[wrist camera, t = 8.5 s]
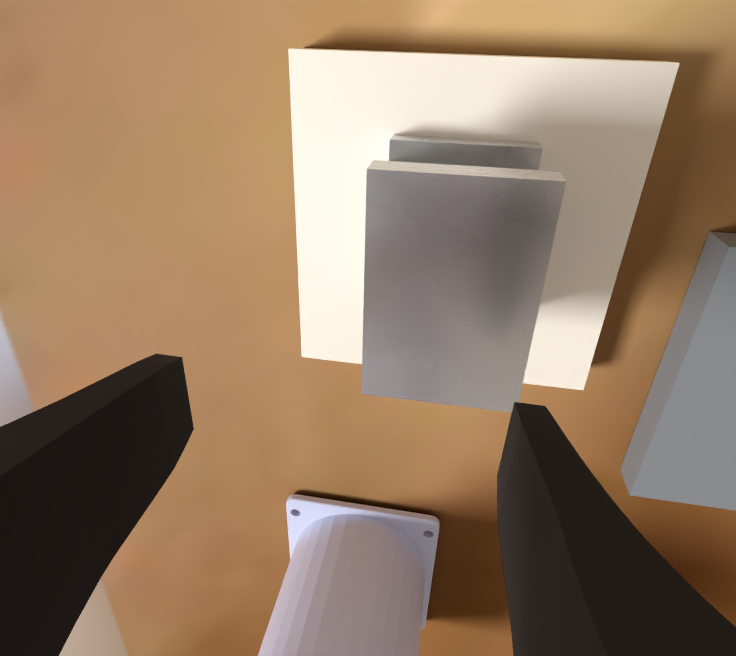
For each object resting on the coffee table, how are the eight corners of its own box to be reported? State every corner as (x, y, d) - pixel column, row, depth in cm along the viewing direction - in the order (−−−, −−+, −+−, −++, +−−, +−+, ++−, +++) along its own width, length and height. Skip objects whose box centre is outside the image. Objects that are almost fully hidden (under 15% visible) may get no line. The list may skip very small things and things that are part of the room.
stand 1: (576, 368, 21) (583, 390, 19) (311, 338, 22) (301, 356, 21) (661, 60, 15) (679, 62, 14) (302, 48, 17) (288, 48, 15)
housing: (504, 326, 19) (516, 413, 14) (385, 314, 19) (361, 393, 15) (538, 142, 15) (566, 181, 11) (393, 134, 16) (366, 168, 12)
